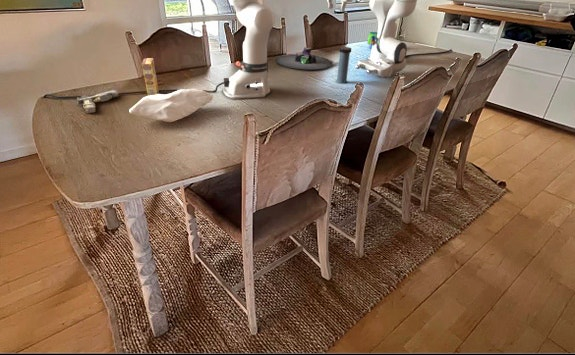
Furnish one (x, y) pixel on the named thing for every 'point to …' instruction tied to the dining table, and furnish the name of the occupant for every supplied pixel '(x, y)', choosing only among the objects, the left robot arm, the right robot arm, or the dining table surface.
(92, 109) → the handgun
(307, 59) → the round decorative tray
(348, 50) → the lid
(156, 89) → the candy box
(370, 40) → the snack cup
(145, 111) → the crumpled cloth
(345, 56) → the grey tall cylinder
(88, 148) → the dining table surface
